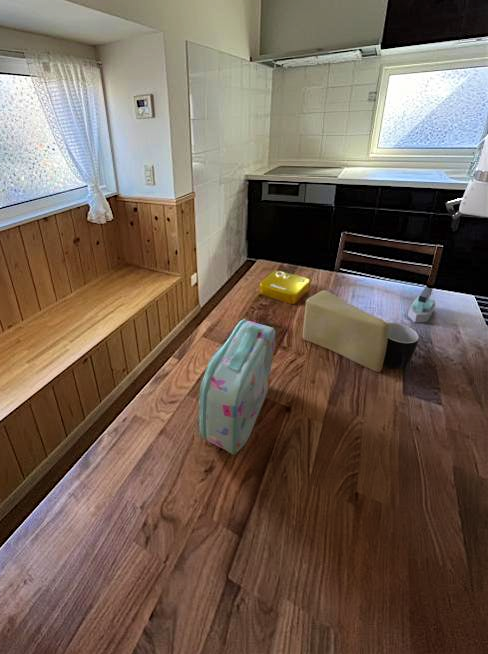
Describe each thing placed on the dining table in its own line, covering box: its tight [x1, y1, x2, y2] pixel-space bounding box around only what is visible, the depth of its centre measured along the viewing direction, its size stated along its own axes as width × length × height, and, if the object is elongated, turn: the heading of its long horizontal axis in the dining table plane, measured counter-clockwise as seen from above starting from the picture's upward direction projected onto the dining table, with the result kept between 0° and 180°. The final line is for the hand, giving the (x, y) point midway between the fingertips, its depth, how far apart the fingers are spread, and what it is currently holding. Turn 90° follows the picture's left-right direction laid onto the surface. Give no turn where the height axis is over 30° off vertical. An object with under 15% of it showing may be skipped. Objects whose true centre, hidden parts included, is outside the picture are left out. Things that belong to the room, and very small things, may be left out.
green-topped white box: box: [407, 287, 436, 324], centre depth 111 cm, size 11×6×8 cm, turn 134°
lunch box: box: [198, 318, 276, 455], centre depth 78 cm, size 27×10×21 cm, turn 152°
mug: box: [383, 322, 420, 371], centre depth 90 cm, size 12×9×10 cm
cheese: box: [302, 289, 389, 373], centre depth 96 cm, size 22×10×15 cm, turn 35°
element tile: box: [259, 270, 310, 305], centre depth 130 cm, size 15×15×5 cm
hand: (473, 233), depth 102 cm, fingers open, 9 cm apart
